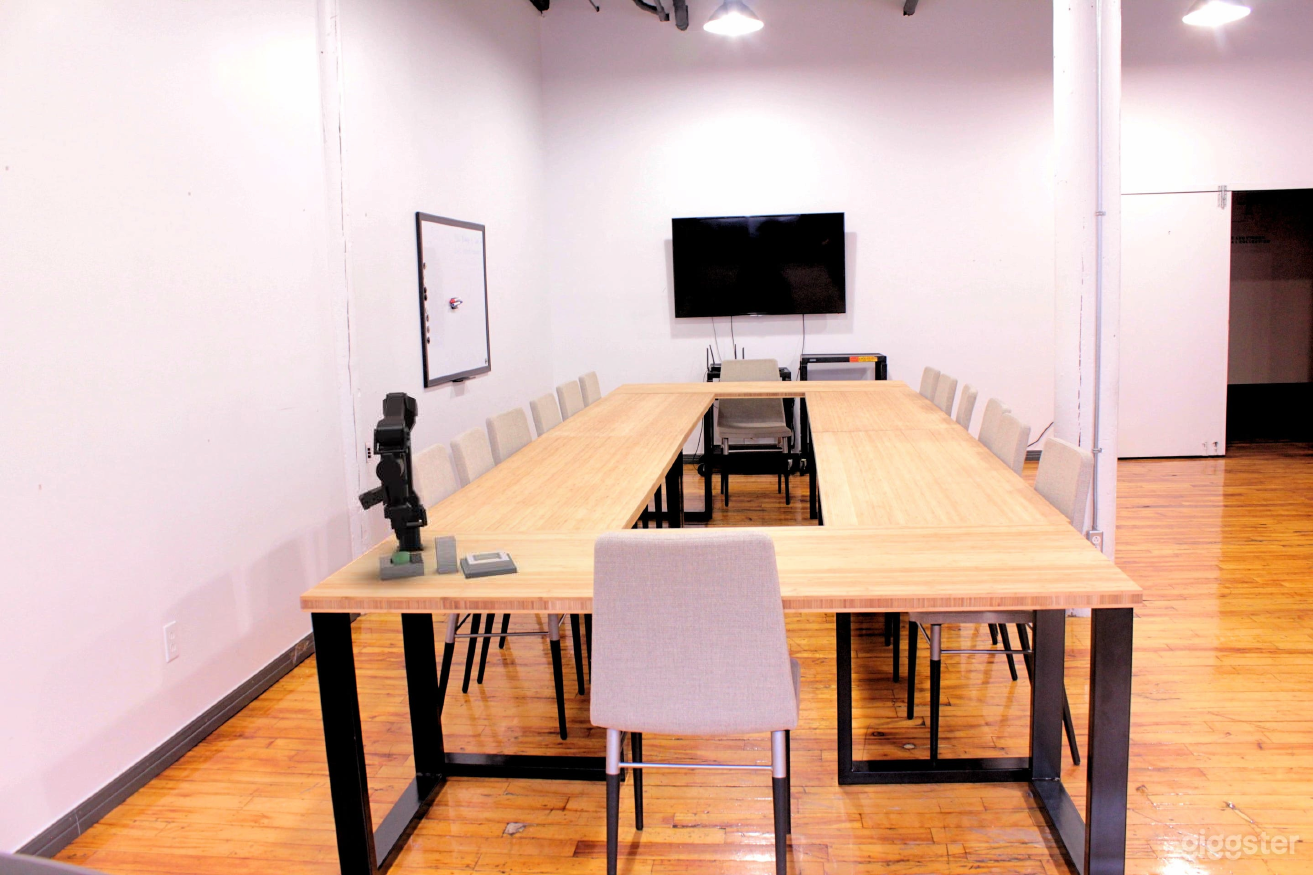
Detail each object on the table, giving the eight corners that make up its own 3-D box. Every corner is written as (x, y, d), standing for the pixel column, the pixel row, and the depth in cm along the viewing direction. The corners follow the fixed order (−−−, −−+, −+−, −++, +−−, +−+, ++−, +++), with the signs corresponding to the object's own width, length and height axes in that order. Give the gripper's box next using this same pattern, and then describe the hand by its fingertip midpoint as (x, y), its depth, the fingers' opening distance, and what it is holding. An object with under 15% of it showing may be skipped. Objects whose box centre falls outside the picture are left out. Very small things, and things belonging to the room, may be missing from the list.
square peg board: (380, 569, 242) (379, 557, 241) (421, 564, 244) (421, 552, 244) (380, 579, 232) (379, 567, 232) (424, 575, 235) (423, 562, 234)
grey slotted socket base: (460, 563, 244) (459, 552, 244) (508, 557, 247) (507, 547, 247) (465, 578, 231) (464, 567, 230) (517, 572, 234) (516, 561, 234)
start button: (392, 568, 239) (391, 552, 239) (409, 566, 241) (408, 550, 240) (393, 572, 236) (392, 556, 235) (410, 571, 237) (409, 554, 236)
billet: (437, 569, 239) (434, 537, 238) (456, 567, 241) (453, 535, 239) (438, 574, 235) (436, 541, 234) (457, 572, 236) (455, 539, 235)
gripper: (359, 472, 241) (364, 534, 243) (358, 485, 223) (364, 552, 226) (406, 468, 244) (410, 529, 247) (409, 481, 227) (414, 547, 229)
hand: (399, 539), depth 237 cm, fingers closed
